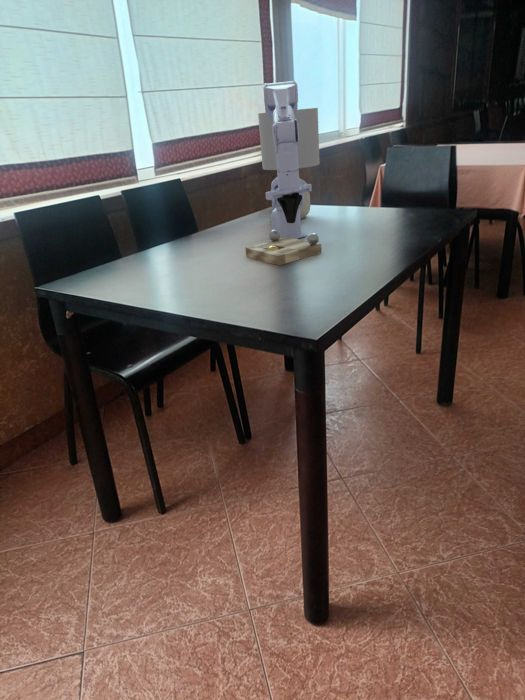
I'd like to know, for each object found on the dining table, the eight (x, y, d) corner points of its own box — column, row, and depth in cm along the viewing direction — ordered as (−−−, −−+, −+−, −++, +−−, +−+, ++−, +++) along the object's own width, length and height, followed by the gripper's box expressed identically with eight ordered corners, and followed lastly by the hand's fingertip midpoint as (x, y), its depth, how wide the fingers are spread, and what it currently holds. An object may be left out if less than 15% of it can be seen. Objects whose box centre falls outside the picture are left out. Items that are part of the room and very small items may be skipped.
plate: (246, 256, 139) (245, 247, 138) (287, 245, 147) (286, 236, 146) (278, 265, 128) (278, 255, 127) (321, 252, 136) (321, 243, 135)
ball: (263, 247, 135) (273, 244, 137) (266, 258, 136) (275, 255, 138) (270, 247, 133) (279, 244, 134) (272, 259, 134) (282, 255, 135)
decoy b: (304, 245, 135) (304, 233, 133) (313, 242, 136) (313, 231, 135) (312, 246, 132) (312, 235, 131) (321, 244, 134) (321, 232, 133)
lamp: (270, 214, 194) (262, 111, 179) (322, 211, 191) (318, 105, 175) (263, 225, 176) (253, 111, 160) (320, 222, 173) (316, 105, 157)
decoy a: (267, 241, 143) (266, 230, 142) (276, 238, 145) (275, 227, 143) (274, 242, 141) (273, 231, 139) (283, 240, 142) (282, 229, 141)
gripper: (275, 175, 123) (279, 229, 129) (318, 167, 131) (320, 219, 137) (259, 174, 129) (263, 226, 135) (301, 166, 136) (303, 216, 142)
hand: (291, 222), depth 136 cm, fingers closed
